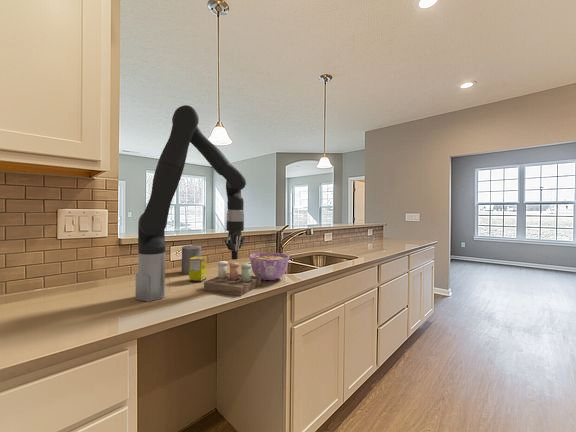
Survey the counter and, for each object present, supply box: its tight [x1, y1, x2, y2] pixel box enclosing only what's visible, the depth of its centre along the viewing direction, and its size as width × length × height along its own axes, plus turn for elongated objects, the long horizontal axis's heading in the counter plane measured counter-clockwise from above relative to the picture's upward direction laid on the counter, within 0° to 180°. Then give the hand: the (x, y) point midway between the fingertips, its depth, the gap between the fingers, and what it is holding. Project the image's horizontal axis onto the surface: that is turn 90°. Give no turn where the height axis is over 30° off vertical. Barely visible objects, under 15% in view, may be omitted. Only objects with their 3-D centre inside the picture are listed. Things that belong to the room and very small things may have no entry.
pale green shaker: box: [240, 263, 252, 282], centre depth 119 cm, size 4×4×7 cm
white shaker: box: [217, 260, 229, 279], centre depth 123 cm, size 4×4×7 cm
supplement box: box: [188, 256, 207, 283], centre depth 130 cm, size 6×6×11 cm
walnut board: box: [203, 272, 262, 297], centre depth 121 cm, size 18×18×4 cm
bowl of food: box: [249, 252, 290, 281], centre depth 137 cm, size 20×20×12 cm
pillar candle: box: [181, 244, 202, 275], centre depth 145 cm, size 10×10×15 cm
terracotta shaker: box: [228, 261, 240, 280], centre depth 121 cm, size 4×4×7 cm
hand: (234, 259), depth 121 cm, fingers closed
